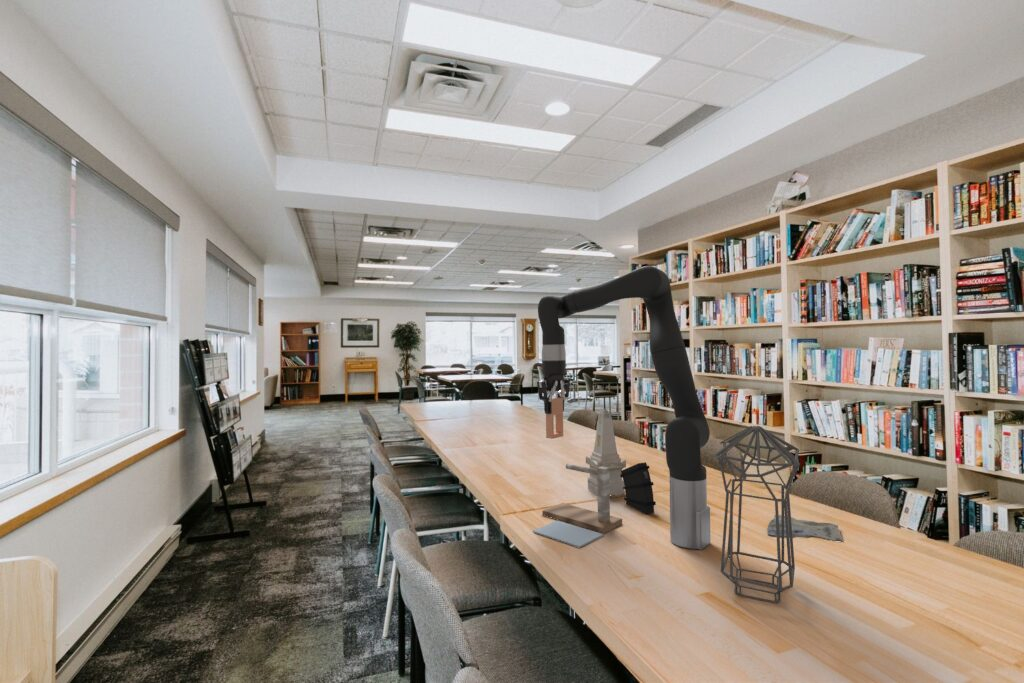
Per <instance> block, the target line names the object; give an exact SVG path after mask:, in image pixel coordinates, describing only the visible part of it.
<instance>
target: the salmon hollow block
mask: <svg viewBox="0 0 1024 683" xmlns="http://www.w3.org/2000/svg"><path fill="white" fill-rule="evenodd" d="M551 408H552V413H551V414H545V434H546V435H545V437H546V439H550V440H552V439H559V438H563V437H564V412H563V398H559V397H557V396H556V397H552V400H551ZM554 416H555V418H554ZM554 419H555V421H554ZM554 422H555V424H554ZM554 426H555V427H554ZM554 429H555V430H554Z"/></svg>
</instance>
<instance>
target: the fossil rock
mask: <svg viewBox="0 0 1024 683" xmlns="http://www.w3.org/2000/svg"><path fill="white" fill-rule="evenodd" d="M791 524H792V537H793V538H796V537H806V538H809V537H812V538H813V537H814V538H817V537H819V539H822V538H823V540H825V539H827V540H826V541H830V540H832V541H831V542H835V541H841V542H843V543H844V540H843V536H842V535H841V532H840V529H839V525H838V524H834V523H832V522H822V521H821V522H817V521H812V520H806V519H797V518H794V517H792V516H791ZM788 525H789V522H788ZM766 528H767V529H766V530H767V536H769V535H770V536H771V537H774V536H777V535H776V514H774V515H773V519H771V520H770V521H769V522H768V524H767V527H766ZM779 534H780V538H782V526H781V514H779ZM770 536H769V537H770ZM784 538H786V525H785V515H784ZM789 538H790V535H789ZM841 542H840V543H841Z"/></svg>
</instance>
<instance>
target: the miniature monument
mask: <svg viewBox="0 0 1024 683" xmlns="http://www.w3.org/2000/svg"><path fill="white" fill-rule="evenodd" d="M616 444H617V443H616V437H615V432H614V424H613V419H612V414H611V413H610V412H609V411H608V410H607V409H606V408H605V407H604V408H603V410H601V411H600V412H599V413H598V418H597V425H596V432H595V440H594V447H593V451H592V452H591V455H589V456H590V457H589V456H587V455H586V456H585V464H586V465H588V466H589V468H593V469H597V468H598V467H602V466H603V467H608V468H609V481H610V495H615V496H622V495H621V494H624V495H626V493H625V489H623V487H625V486H624V481H623V477H621V476H620V475H621V474H622V473H621V471H622V470H624V468H625V469H626V468H627V460H626V459H624V460H622V459H621V457H620V454H619V453H618V450H617V445H616ZM588 489H589V490H590V491H589V490H588ZM587 490H588V491H589V492H591V491H592V492H591V493H593V494H594V493H595V495H596V494H597V495H598V493H597V475H595V474H590V473H589V476H588V477H587ZM597 495H596V496H597Z"/></svg>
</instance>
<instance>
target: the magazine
mask: <svg viewBox="0 0 1024 683" xmlns="http://www.w3.org/2000/svg"><path fill="white" fill-rule="evenodd" d="M649 469H650V465H647V462H645V461H644V462H639V463H636V464H633V465H632V466H629V467H625V469H624V468H623V469H622V471H621V473H622V474H621V475H620V476H621V477H622V480H623V481H624V486H625V487H623V489H625V497H624V498H623V500H624V501H625V505H627V506H628V505H629V507H630V506H631V507H630V508H632V507H633V509H635V510H637V511H639V512H641V513H644V514H646V515H649V514H650V515H651V514H654V513H655V506H656V505H657V502H656V501H655V500H654V492H653V486H654V482H653V481H652V479H651V475H650V472H649Z"/></svg>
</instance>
